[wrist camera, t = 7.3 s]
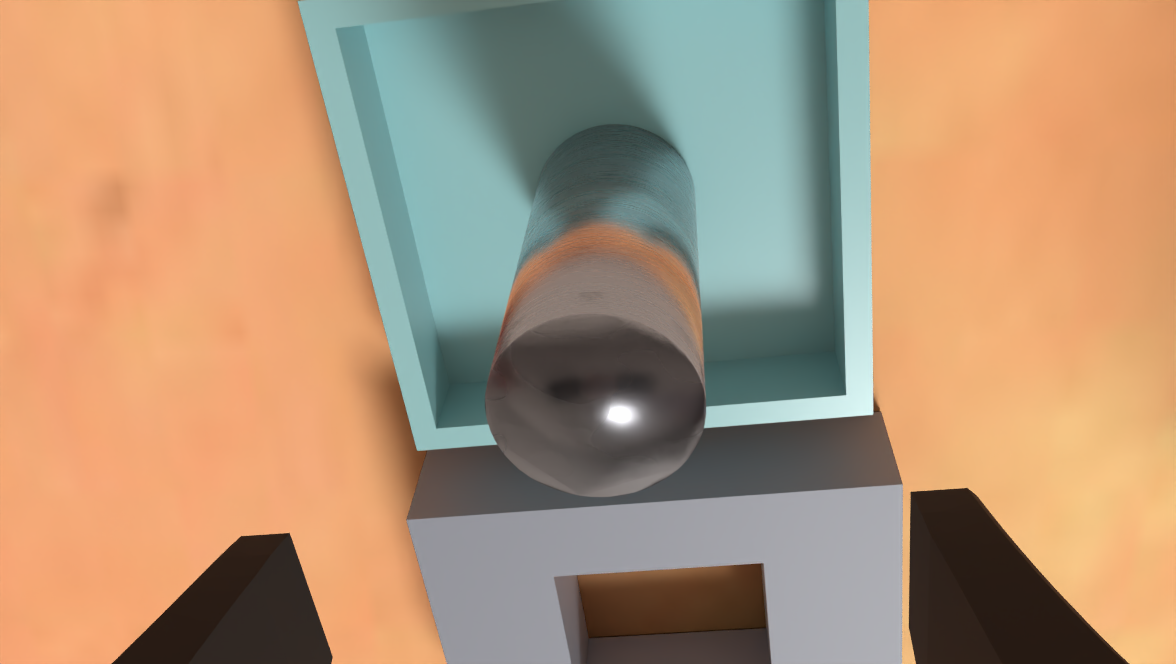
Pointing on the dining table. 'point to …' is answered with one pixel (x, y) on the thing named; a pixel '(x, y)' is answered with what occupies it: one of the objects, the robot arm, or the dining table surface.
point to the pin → (603, 320)
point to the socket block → (673, 548)
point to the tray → (592, 98)
